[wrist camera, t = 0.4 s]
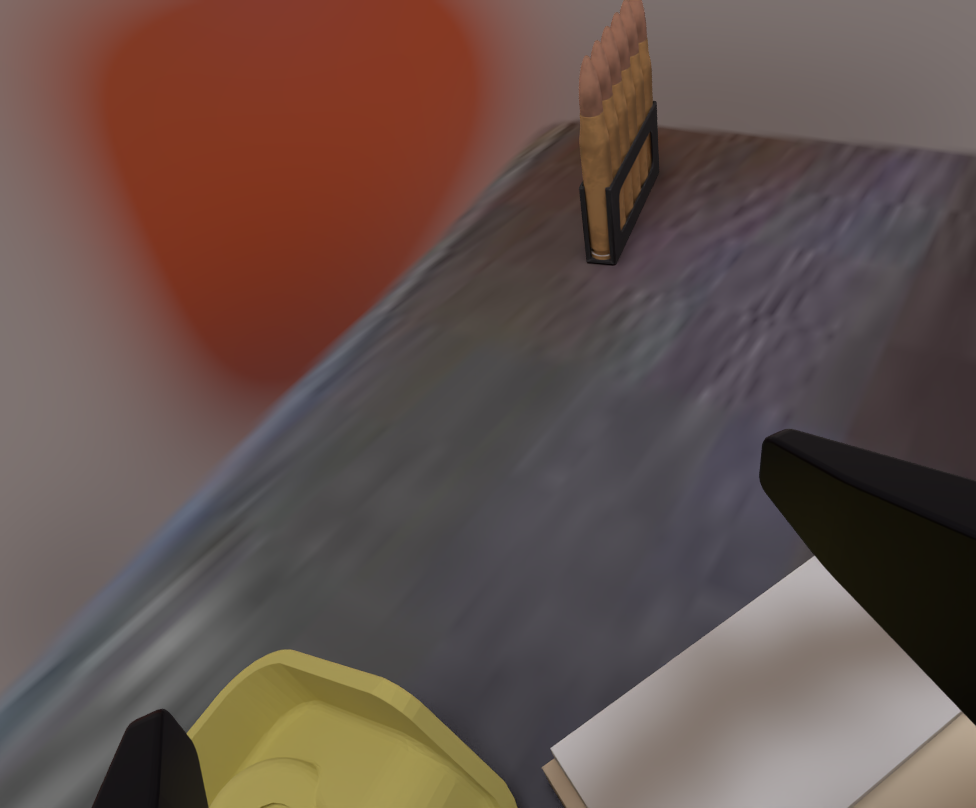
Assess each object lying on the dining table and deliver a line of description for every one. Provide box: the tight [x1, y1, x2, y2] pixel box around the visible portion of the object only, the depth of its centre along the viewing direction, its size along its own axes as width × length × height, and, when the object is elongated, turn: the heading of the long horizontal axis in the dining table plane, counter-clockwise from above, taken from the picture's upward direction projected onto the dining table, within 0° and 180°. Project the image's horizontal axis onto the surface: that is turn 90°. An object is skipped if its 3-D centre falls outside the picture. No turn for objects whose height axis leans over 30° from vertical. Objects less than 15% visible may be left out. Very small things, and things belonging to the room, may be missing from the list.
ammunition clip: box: [579, 0, 659, 264], centre depth 42 cm, size 11×2×12 cm, turn 157°
